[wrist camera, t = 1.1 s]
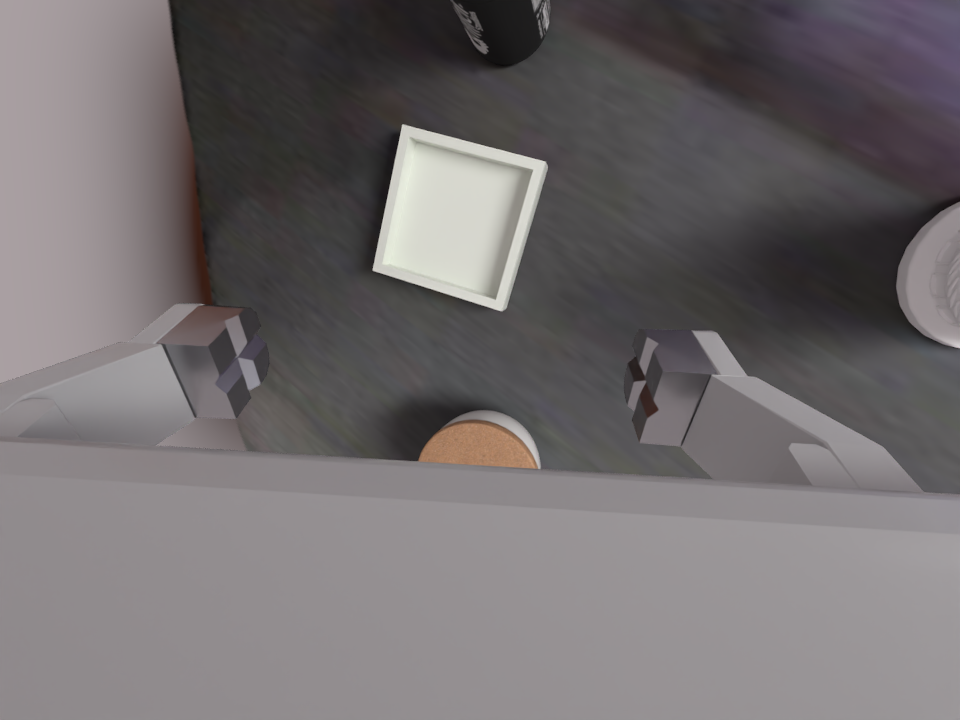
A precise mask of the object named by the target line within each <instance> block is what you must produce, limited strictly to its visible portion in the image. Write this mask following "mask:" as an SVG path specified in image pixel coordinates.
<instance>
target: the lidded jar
mask: <svg viewBox="0 0 960 720" xmlns="http://www.w3.org/2000/svg"><path fill="white" fill-rule="evenodd" d="M418 461H419V462H435V463H451V464H468V465H484V466H501V467H517V468H534V469H541V467H540V458H539V454H538V450H537V447H536V445H535V442H534V440H533V439H532V437H531V435H530V434H529V432H528V431H527V430H526V429H525V428H524V427H523V426H522V425H521V424H520V423H519V422H518V421H516V420H515V419H513V418H511V417H510V416H508V415H505V414H503V413H500V412H496V411H490V410H477V411H471V412H468V413H465V414H462V415H460V416H458V417H456V418H454V419H453V420H451V421H450V422H448V423H447V424H446V425H445V426H443V427H442V428H441V429H440V430H439V431H438V432H437V433H435V434H434V435H433V436H432V437H431V439H430V440H429V441H428V442H427V443H426V445H425V446H424V448H423V450H422V451H421V454H420V456H419V459H418Z"/></svg>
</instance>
